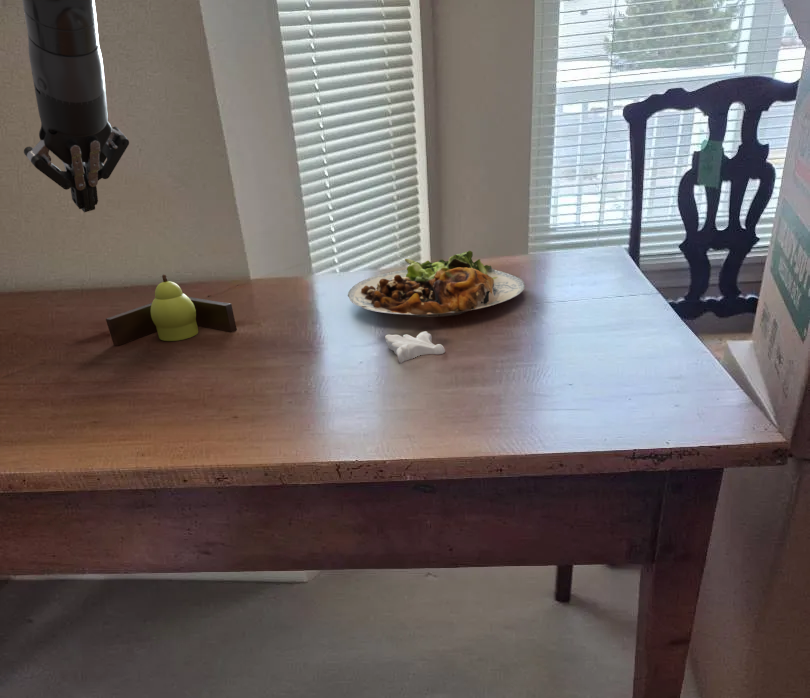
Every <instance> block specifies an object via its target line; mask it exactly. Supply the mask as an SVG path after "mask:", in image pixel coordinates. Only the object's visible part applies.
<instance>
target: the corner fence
mask: <svg viewBox="0 0 810 698" xmlns="http://www.w3.org/2000/svg"><path fill="white" fill-rule="evenodd" d="M188 297H189V298H190V300H191V301H192V302H193V304H194V306H195V310H196V323H197V327H203V328H208V329H214V330H219V331H223V332H228V333H232V332H234V331H237V324H236V319H235V314H234V309H233V305H232V303H229V302H223V301H216V300H210V299H204V298H199V297H198V298H197V297H192V296H188ZM151 305H152V302H151V303H148V304H145V305H142V306H138V307H136V308H133V309H129V310H126V311H123V312H121V313H118V314H116V315H112V316H109V317H107V318H105V321H106V325H107V328H108V331H109V332H108V333H109V335H110V338H111V341H112V344H113V346H122V345H124V344H126V343H129V342H132V341H135V340H138V339H140V338H143V337H145V336H149V335H152V334H153V333H156V332H157V328H156V326H155V324H154V322H153V320H152V318H151Z"/></svg>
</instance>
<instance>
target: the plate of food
mask: <svg viewBox="0 0 810 698" xmlns="http://www.w3.org/2000/svg"><path fill="white" fill-rule="evenodd" d="M473 253H474V252H473V251H472V250H468V251H464V252H462V253H461V252H460V253H457V254H453V255H452V256H450V257H448V260H444V259H443V258H441V259H439V260H438V261H435V262H431V261H430V260H425V261H424V262H422V263H420V262H418V261H415V260H413V259H411V258H404V261H405V262H406V263H407V264H408V266H407V267H406V268H405V269H400V270H399V269H398V270H395V271H389V272H384V273H381V274H377V275H373V276H371V277H368V278H365V279H363V280H361V281H359V282H357V283H356V284H355V285H353V286H352V287H351V288H350V289H349V291H348V293H347V297H348V299H349V301H350V302H351V303H352V304H353V305H355V306H356V307H359V308H362V309H364V310H368V311H371V312H376V313H377V312H378V313H382V314H383V313H384V314H391V315H392V314H393V315H407V316H410V317H413V318H414V317H416V318H438V317H440V318H441V317H448V316H449V317H450V316H458V315H461V314H465V313H467V312H470V311H472V310H481V309H484V308H488V307H491V306H494V305H497V304H501V303H504V302H508V301H509V300H511V299H513V298H515V297H517V296H519V295H520V294H521V293H522V292H523V290H524V289H525V288H526V283H525V282H524V280H523V279H522V278H520V277H519V276H517V275H514V274H511V273H508V272H505V271H501V270H498V269H494V268H493V267H492V266H491V265H488V264H485V265H484V264H483V263H482V261H481V258H478V259H476V260H475V261H473V255H474V254H473Z"/></svg>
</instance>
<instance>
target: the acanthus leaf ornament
mask: <svg viewBox="0 0 810 698" xmlns="http://www.w3.org/2000/svg"><path fill="white" fill-rule="evenodd" d="M384 339H385V341H386V344H387V346H388V349H389V350H390V351H393V352H394V354H395V355H396V356H397V360H398V363H399V364H402V363H404V362H406V361H407V362H408V361H409V360H413V358H414V359H416V358H418V357H420V355H421V356H424V355H425V356H426V355H442V354H445V353H446V349H445V347H444V345H442V344H441V343H437V344H434V343H433V342H432V339H433V337H432V333H429V332H428V331H426V330H425V331H421V332H419V333H418V334H417V335H416V337H414V336H412V335H410V334H403V335H399V334H386V335H385V336H384ZM417 356H418V357H417ZM415 357H416V358H415Z"/></svg>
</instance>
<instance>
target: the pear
mask: <svg viewBox="0 0 810 698" xmlns="http://www.w3.org/2000/svg"><path fill="white" fill-rule="evenodd" d="M161 278H162V282H160V283H159V284H157V286H156V288H155V290H154V299H153V300H152V302H151V303H152V305H151V318H152V320H153V322H154V324H155V326H156V328H157V331H156V332H157V335H158V339H159V340H161V341H165V342H177V341H184V340H187V339H191V338H193V337H194V336H197V335H198V334H199V328H198V327H199V326H197V323H196V310H195V306H194V304H193V302H192V301H191V300H190V298H189V297H190V296H188V295H186V294H185V293H183V291H182V288H181V287H180V286H179V284H177V282H174V281H171V280H168V277H167V275H166V274H162V276H161Z"/></svg>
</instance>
